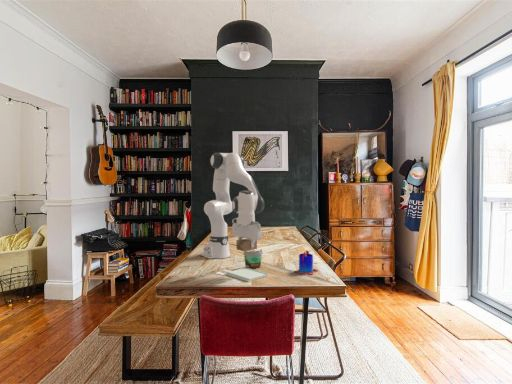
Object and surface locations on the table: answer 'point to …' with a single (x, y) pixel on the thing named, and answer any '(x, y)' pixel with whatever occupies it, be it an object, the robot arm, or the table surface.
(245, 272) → the building board
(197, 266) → the table surface
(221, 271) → the page
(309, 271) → the fantasy tower
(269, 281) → the table surface
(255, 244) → the walnut block
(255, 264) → the food container
